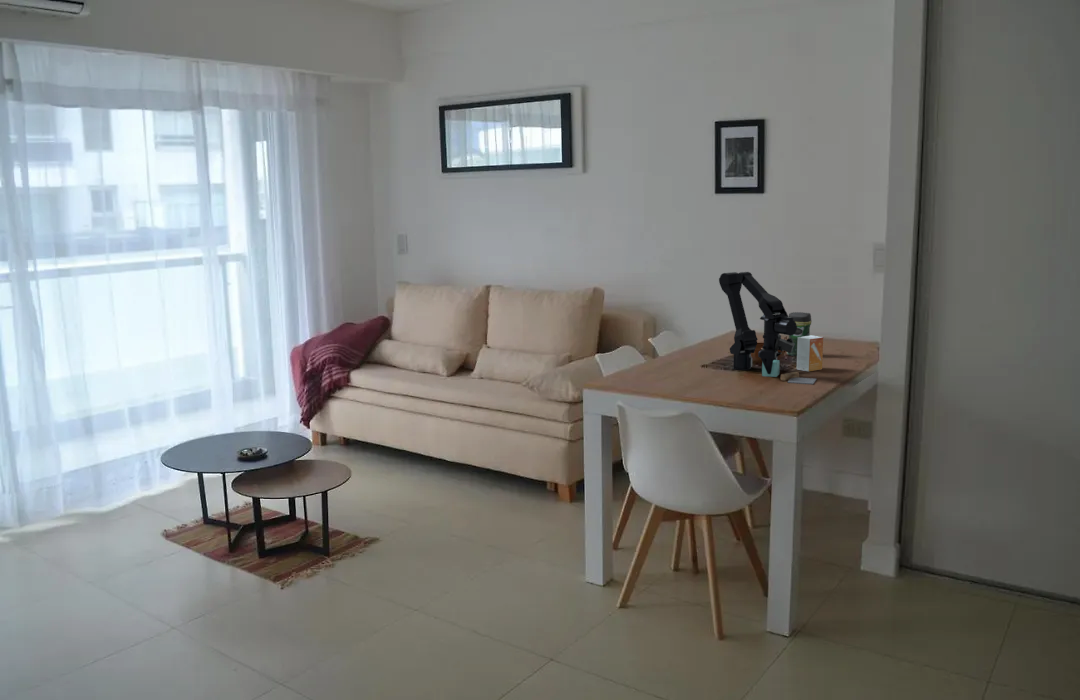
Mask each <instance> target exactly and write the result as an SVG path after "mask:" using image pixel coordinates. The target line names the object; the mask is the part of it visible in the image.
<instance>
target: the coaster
mask: <svg viewBox="0 0 1080 700" xmlns="http://www.w3.org/2000/svg"><path fill="white" fill-rule="evenodd" d="M815 382H817V378H815V377H814V378H812V377H810V378H809V377H800V376H799V377H795V378H791V379H790V380H787V383H788V384H799V385H801V384H802V385H814V384H815Z"/></svg>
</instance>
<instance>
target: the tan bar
mask: <svg viewBox="0 0 1080 700" xmlns="http://www.w3.org/2000/svg"><path fill="white" fill-rule="evenodd" d="M795 377H799V378H800V372H799V371H793V372H792V371H791V372H788V373H782V374H780V380H781V381H785V382H786V381H789V380H790V379H791V378H795Z"/></svg>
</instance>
